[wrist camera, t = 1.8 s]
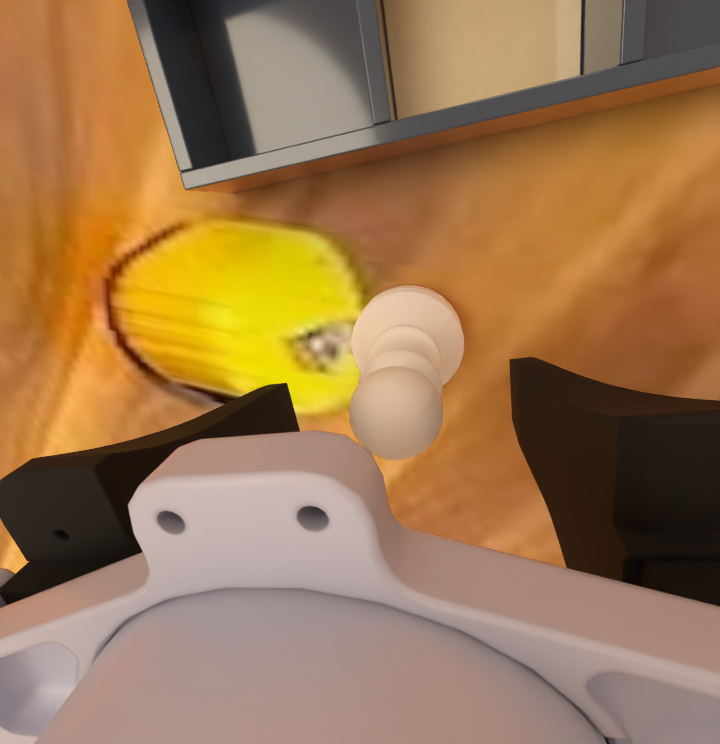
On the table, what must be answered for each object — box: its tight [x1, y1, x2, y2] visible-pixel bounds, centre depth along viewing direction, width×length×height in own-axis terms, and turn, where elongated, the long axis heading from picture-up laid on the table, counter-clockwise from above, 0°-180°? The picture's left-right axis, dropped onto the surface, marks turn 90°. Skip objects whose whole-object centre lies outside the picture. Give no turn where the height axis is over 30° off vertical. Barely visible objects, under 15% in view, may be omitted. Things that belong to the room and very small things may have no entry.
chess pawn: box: [349, 285, 464, 460], centre depth 15 cm, size 5×5×9 cm
